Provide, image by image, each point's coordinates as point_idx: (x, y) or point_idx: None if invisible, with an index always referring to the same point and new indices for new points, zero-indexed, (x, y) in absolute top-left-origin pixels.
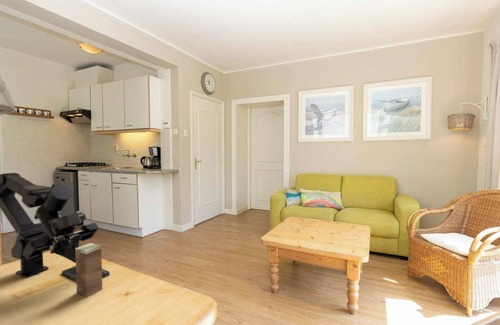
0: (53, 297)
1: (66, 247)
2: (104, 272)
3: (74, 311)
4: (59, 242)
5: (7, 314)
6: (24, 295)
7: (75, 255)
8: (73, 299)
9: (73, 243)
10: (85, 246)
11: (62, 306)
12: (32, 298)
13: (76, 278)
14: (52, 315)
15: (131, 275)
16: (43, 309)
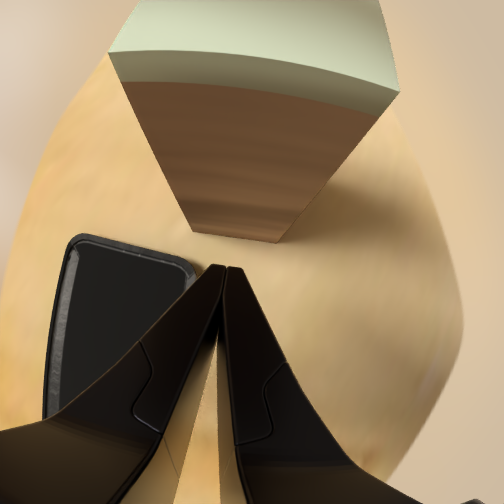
0: (335, 323)
1: (310, 439)
2: (75, 270)
3: (368, 141)
4: (476, 500)
5: (449, 365)
6: (352, 457)
7: (356, 145)
8: (318, 213)
9: (152, 449)
10: (270, 13)
11: (368, 212)
12: (363, 404)
13: (291, 222)
14: (411, 198)
15: (76, 133)
16: (404, 270)
